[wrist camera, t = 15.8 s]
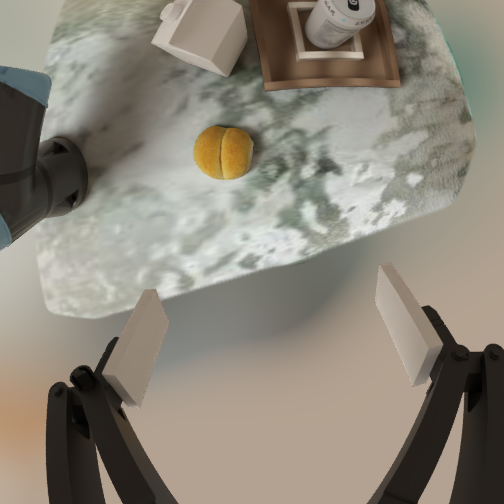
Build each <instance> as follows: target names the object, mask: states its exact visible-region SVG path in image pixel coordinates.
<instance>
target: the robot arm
mask: <svg viewBox="0 0 504 504" xmlns="http://www.w3.org/2000/svg"><path fill="white" fill-rule="evenodd" d="M51 85H52V82H51V79H50V77H49V76H48V75H47V74H44V73H40V72H35V71H30V70H25V69H19V68H12V67H6V66H0V251H1V250H2V249H3V248H5V247H8V246H10V245H11V244H12V243H13V242H14V241H15V240H16V239H18V238H19V237H20V236H22V235H23V234H24V233H25V232H27V231H28V230H29V229H30V228H32V227H33V226H35V225H36V224H37V223H39V222H40V221H41V220H43V219H44V218H51V217H57V216H63V215H65V214H68V213H69V212H71V211H72V210H74V209H75V208H76V207H77V206H78V205H79V204H80V203H81V201H82V200H83V198H84V195H85V193H86V189H87V169H86V164H85V161H84V159H83V156H82V154H81V153H80V151H79V149H78V148H77V147H76V146H75V145H74V144H73V143H72V142H70V141H69V140H67V139H64V138H52V139H48V140H45V141H43V142H41V143H40V144H39V142H40V136H41V131H42V126H43V121H44V116H45V112H46V108H48V99H49V94H50V90H51ZM375 303H376V305H377V308H378V309H379V312H380V314H381V316H382V318H383V320H384V322H385V324H386V326H387V329H388V331H389V333H390V335H391V337H392V340H393V342H394V344H395V346H396V349H397V351H398V353H399V356H400V358H401V360H402V363H403V365H404V367H405V370H406V372H407V375H408V377H409V380H410V382H411V385H412V387H413V386H417V385H420V384H424V383H426V381H427V379H428V377H429V376H430V378H431V380H432V383H431V385H430V387H429V389H428V390H427V393H426V394H427V395H426V398H425V400H424V402H423V405H422V407H421V410H420V412H419V414H418V416H417V418H416V420H415V423H414V425H413V427H412V429H411V431H410V433H409V435H408V437H407V439H406V441H405V443H404V445H403V447H402V448H401V450H400V452H399V454H398V456H397V458H396V459H395V461H394V463H393V465H392V466H391V468H390V470H389V471H388V473H387V475H386V476H385V478H384V479H383V481H382V482H381V484H380V486H379V487H378V489H377V490H376V492H375V493H374V494H373V496H372V497H371V499H370V500H369V502H368V503H367V504H418V500H419V498H420V497H421V495H422V493H423V491H424V489H425V487H426V485H427V483H428V482H429V480H430V478H431V475H432V474H433V471H434V469H435V467H436V465H437V463H438V461H439V458H440V456H441V454H442V451H443V449H444V447H445V444H446V442H447V439H448V436H449V434H450V431H451V428H452V425H453V423H454V420H455V417H456V414H457V411H458V408H459V404H460V401H461V398H462V394H463V392H464V393H465V394H464V414H463V428H462V439H461V446H460V453H459V460H458V466H457V472H456V476H455V482H454V486H453V490H452V495H451V499H450V502H449V504H504V349H503V348H502V347H501V346H499V345H497V344H489V345H487V346H486V348H485V349H484V351H483V352H470V351H469V350H468V349H467V348H466V347H465V346H463V345H459V344H457V343H456V341H455V340H454V338H453V336H452V335H451V333H450V332H449V330H448V328H447V327H446V325H444V322H443V321H442V319H441V318H440V316H439V315H438V313H437V311H436V310H434V309H433V308H432V307H430V306H429V305H428V306H424V307H420V305H419V303H418V302H417V300H416V299H415V297H414V296H413V294H412V293H411V291H410V290H409V288H408V287H407V285H406V284H405V282H404V281H403V279H402V278H401V276H400V275H399V273H398V272H397V271H396V269H395V268H394V266H393V265H392V264H391V263H386V264H379V272H378V281H377V290H376V298H375ZM168 326H169V321H168V319H167V316H166V314H165V311H164V309H163V306H162V304H161V301H160V299H159V296H158V294H157V291H156V289H150V290H144V292H143V294H142V296H141V298H140V299H139V301H138V303H137V305H136V307H135V309H134V310H133V312H132V314H131V316H130V318H129V320H128V322H127V324H126V326H125V328H124V330H123V331H122V334H121V335H120V337H114V338H113V339H112V341H110V343H109V344H108V346H107V348H106V350H105V352H104V354H103V355H102V358H101V359H100V362H99V363H98V365H97V367H96V370H95V371H94V372H93V371H92V370H91V368H90V367H89V366H86V365H82V366H79V367H77V368H76V369H74V370H73V372H72V373H71V375H70V381H71V382H72V384H73V385H74V386H75V387H68V386H67V385H66V384H65V383H64V382H57V383H55V384H54V385H53V386H52V387H51V388H50V390H49V393H48V405H47V420H46V421H47V422H46V470H47V484H48V495H49V504H106V503H105V499H104V494H103V489H102V484H101V479H100V473H99V468H98V460H97V453H96V446H97V449H98V451H99V454H100V456H101V459H102V461H103V463H104V466H105V468H106V470H107V472H108V475H109V477H110V479H111V481H112V483H113V485H114V487H115V489H116V491H117V493H118V495H119V497H120V499H121V501H122V503H123V504H178V502H177V501H176V500H175V498H174V497H173V495H172V494H171V493H170V491H169V490H168V488H167V487H166V485H165V484H164V482H163V480H162V479H161V477H160V476H159V474H158V473H157V471H156V470H155V468H154V466H153V464H152V463H151V461H150V459H149V458H148V456H147V454H146V453H145V451H144V449H143V448H142V446H141V444H140V442H139V440H138V438H137V436H136V434H135V432H134V431H133V429H132V427H131V425H130V423H129V421H128V419H127V416H126V414H125V412H124V410H123V408H121V403H122V401H124V403H125V404H126V405H127V406H128V407H135V408H140V407H141V404H142V401H143V398H144V395H145V392H146V389H147V386H148V382H149V380H150V377H151V374H152V371H153V368H154V365H155V362H156V359H157V356H158V354H159V351H160V348H161V345H162V342H163V340H164V337H165V334H166V331H167V329H168ZM95 443H96V446H95Z"/></svg>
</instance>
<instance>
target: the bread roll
mask: <svg viewBox="0 0 504 504" xmlns="http://www.w3.org/2000/svg"><path fill="white" fill-rule="evenodd" d="M253 143H254V142H253V141H252V140H251V138H250V137H249V135H248V134H247V133H246V132H245V131H243V130H241V129H238V128H222V127H219V126H212V127H209V128H207V129H206V130H204V131H203V132H202V133H201V134H200V135H199V137H198V138H197V140H196V142H195V145H194V150H193V156H194V159H195V162H196V164H197V165H198V167H199V168H200V169H201V171H202V172H204V173H205V174H207V175H208V176H210V177H211V178H214V179H220V180H232V179H236V178H239V177H242V176H243V175H245V173H246V172H247V171H248V169H249V168H250V166H251V161H252V155H253V146H254V144H253Z"/></svg>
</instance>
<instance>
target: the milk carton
mask: <svg viewBox="0 0 504 504" xmlns="http://www.w3.org/2000/svg"><path fill="white" fill-rule="evenodd" d="M160 19H161V20H163V21H162V23H161V25H160V27H159V29H158V30H157V32H156V34H155V36H154V38H153V40H152V44H154V45H156V46H157V47H159V48H161V49H163V50H165V51H167V52H168V53H170V54H172V55H174V56H175V57H177V58H179V59H181V60H182V61H184V62H186V63H188V64H191V65H194V66H197V67H200V68H203V69H206V70H209V71H211V72H214V73H217V74H219V75H222V76H225V77H228V76H229V75H230V73H231V71H232V69H233V67H234V65H235V63H236V62H237V60H238V58H239V56H240V54H241V52H242V51H243V49H244V47H245V45H246V43H247V42H248V35H247V29H246V24H245V19H244V14H243V9H242V6H241V5H240V4H238V3H236V2H235V1H233V0H175V1H174V2H173V3H169V4H168V5H166V6H165V8H164V9H163V10H162V12H161V14H160Z"/></svg>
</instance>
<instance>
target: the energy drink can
mask: <svg viewBox="0 0 504 504" xmlns="http://www.w3.org/2000/svg"><path fill="white" fill-rule="evenodd" d="M374 16H375V1H374V0H318V2H317V4H316V5H315V7H314V9H313V11H312V12H311V14H310V16H309V18H308V20H307V22H306V24H305V28H304V30H305V34H306V37H307V38H308V40H309V41H310V42H311V43H313V44H314V45H315V46H317V47H320V48H323V49H333V48H336V47H338V46H340V45H341V44H342V43H344V42H345V41H346V40H348V39H349V38H350V37H352V36H353V35H354V34H356V33H357V32H359V31H360V30H361V29H363V28H364V27H366V26H367V25H368V24H370V23H371V22H372V20H373V19H374Z"/></svg>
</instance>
